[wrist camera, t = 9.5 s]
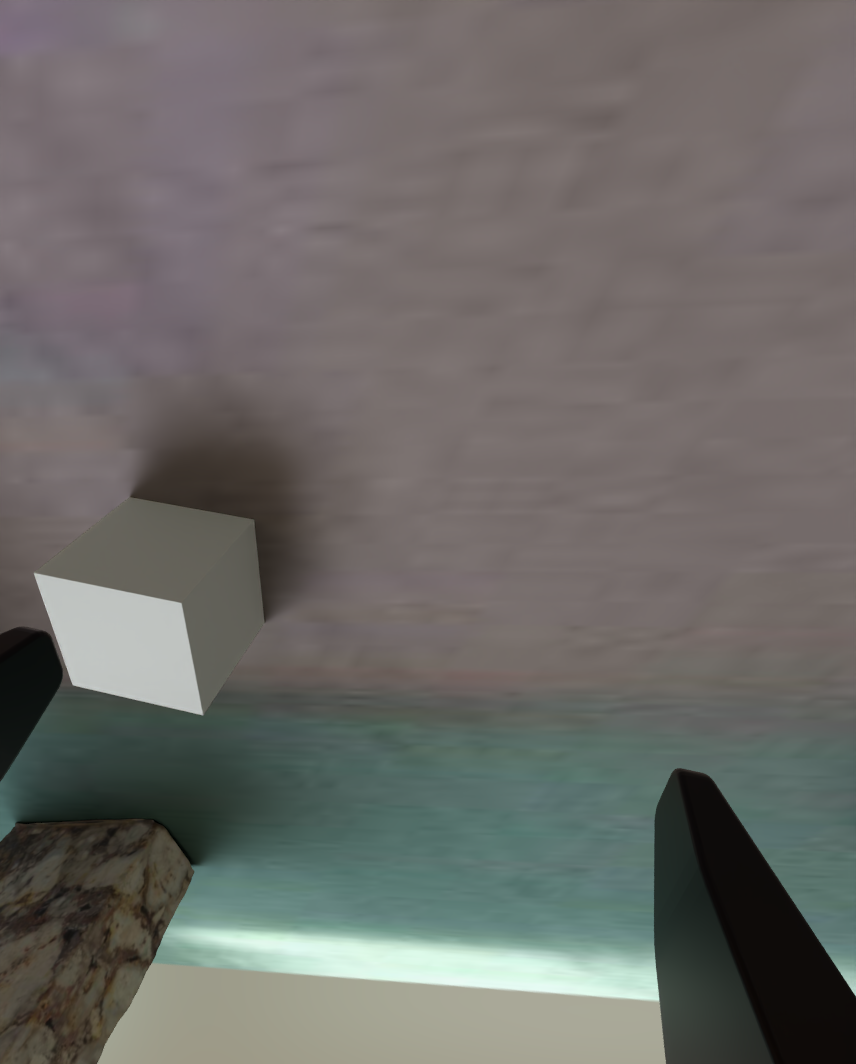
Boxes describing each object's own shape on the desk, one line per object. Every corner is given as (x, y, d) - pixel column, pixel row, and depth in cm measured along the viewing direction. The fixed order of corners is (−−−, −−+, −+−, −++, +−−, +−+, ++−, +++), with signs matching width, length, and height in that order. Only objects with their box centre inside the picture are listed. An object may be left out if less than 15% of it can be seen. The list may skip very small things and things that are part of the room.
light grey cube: (255, 518, 23) (181, 603, 19) (265, 621, 26) (203, 715, 21) (131, 495, 24) (33, 572, 19) (153, 599, 26) (73, 685, 22)
